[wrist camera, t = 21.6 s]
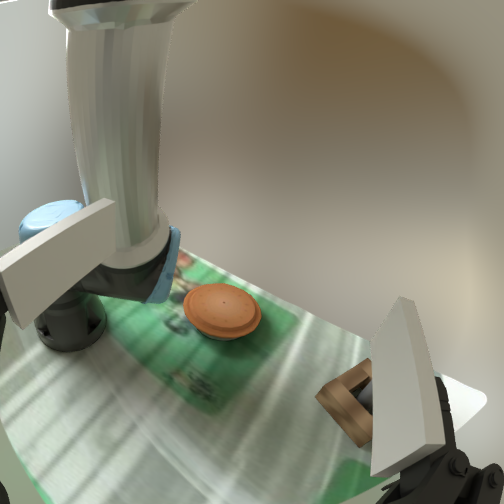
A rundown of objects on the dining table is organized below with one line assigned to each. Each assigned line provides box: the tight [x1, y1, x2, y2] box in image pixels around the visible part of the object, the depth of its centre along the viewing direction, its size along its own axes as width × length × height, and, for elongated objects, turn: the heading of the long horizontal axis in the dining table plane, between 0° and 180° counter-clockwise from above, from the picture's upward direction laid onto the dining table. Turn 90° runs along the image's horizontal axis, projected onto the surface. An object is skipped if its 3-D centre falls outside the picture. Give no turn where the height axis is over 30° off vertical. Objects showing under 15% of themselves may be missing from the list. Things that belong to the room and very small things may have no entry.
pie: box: [183, 283, 261, 341], centre depth 56 cm, size 16×16×5 cm
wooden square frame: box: [315, 358, 373, 448], centre depth 43 cm, size 13×13×4 cm
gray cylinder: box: [356, 380, 373, 411], centre depth 40 cm, size 4×4×16 cm
